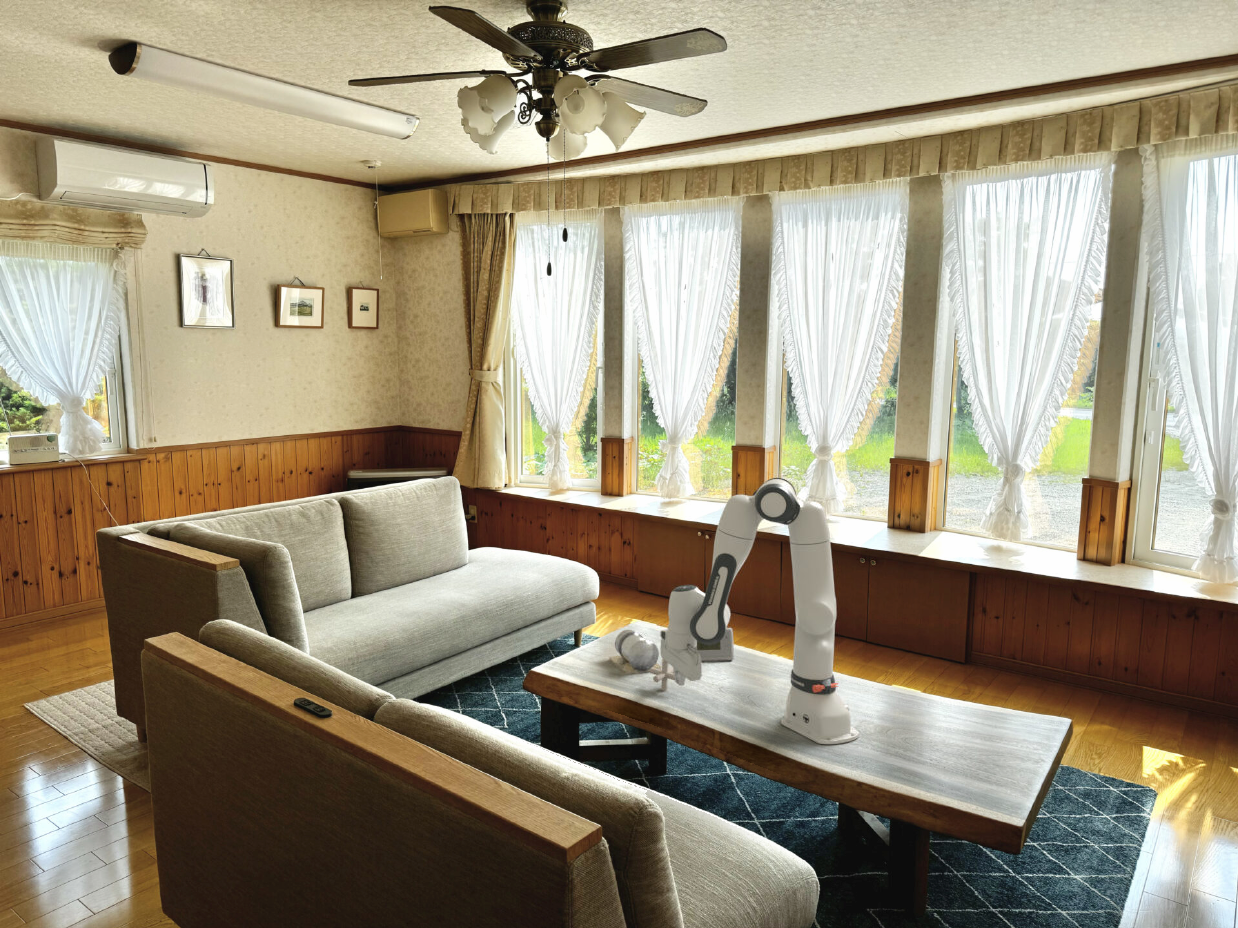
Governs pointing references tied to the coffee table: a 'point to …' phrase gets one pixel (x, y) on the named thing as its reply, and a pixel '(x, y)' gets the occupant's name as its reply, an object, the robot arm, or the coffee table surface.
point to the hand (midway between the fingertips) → (679, 683)
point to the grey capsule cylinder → (635, 653)
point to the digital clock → (718, 649)
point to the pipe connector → (663, 674)
